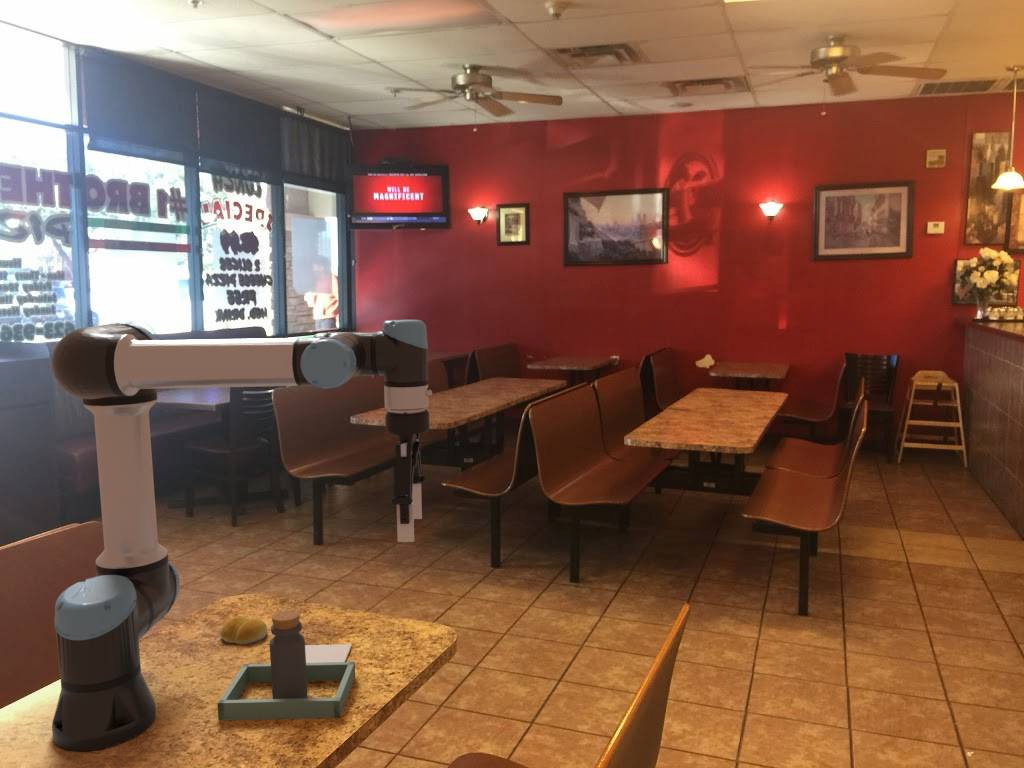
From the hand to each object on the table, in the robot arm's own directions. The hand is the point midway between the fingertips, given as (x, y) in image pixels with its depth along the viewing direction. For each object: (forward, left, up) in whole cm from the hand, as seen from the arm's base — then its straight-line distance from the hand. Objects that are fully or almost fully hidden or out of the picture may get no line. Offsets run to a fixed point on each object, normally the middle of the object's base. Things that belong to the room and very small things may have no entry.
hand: (410, 529), depth 146 cm
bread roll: (-37, +21, -28) cm, 51 cm away
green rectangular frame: (-21, -5, -28) cm, 35 cm away
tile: (-21, +10, -28) cm, 36 cm away
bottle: (-21, -5, -28) cm, 36 cm away
